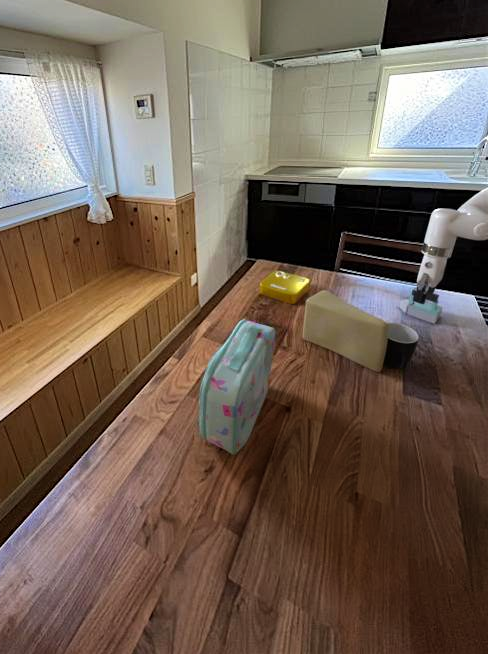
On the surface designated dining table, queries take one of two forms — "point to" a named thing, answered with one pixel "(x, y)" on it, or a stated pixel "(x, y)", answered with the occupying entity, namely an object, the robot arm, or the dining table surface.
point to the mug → (400, 346)
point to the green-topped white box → (422, 307)
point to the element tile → (284, 287)
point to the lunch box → (236, 386)
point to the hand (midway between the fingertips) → (423, 296)
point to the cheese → (345, 330)
